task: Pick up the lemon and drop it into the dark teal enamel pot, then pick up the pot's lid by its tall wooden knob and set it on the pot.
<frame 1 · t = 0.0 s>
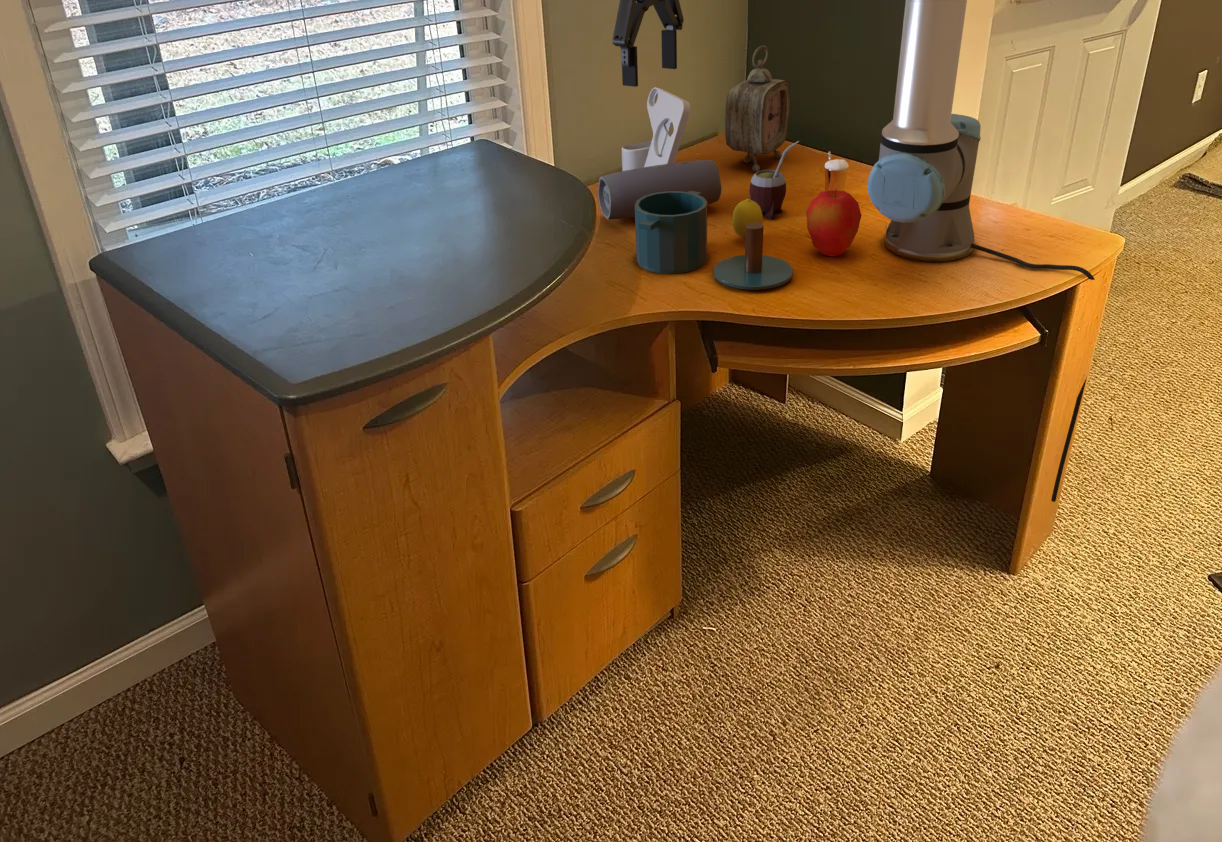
hand: (650, 76, 175), 28 cm above the table, tool pointing down, fingers open, 13 cm apart
tabletop clock: (755, 164, 219), on the table
lid: (753, 273, 168), point 1 cm above the table
pot: (671, 259, 176), on the table
bluetooth speaker: (659, 216, 195), on the table
mate gourd: (769, 215, 193), on the table
milkshake: (832, 205, 196), on the table
phone holder: (655, 182, 212), on the table
apple: (830, 254, 175), on the table
lemon: (746, 241, 182), on the table
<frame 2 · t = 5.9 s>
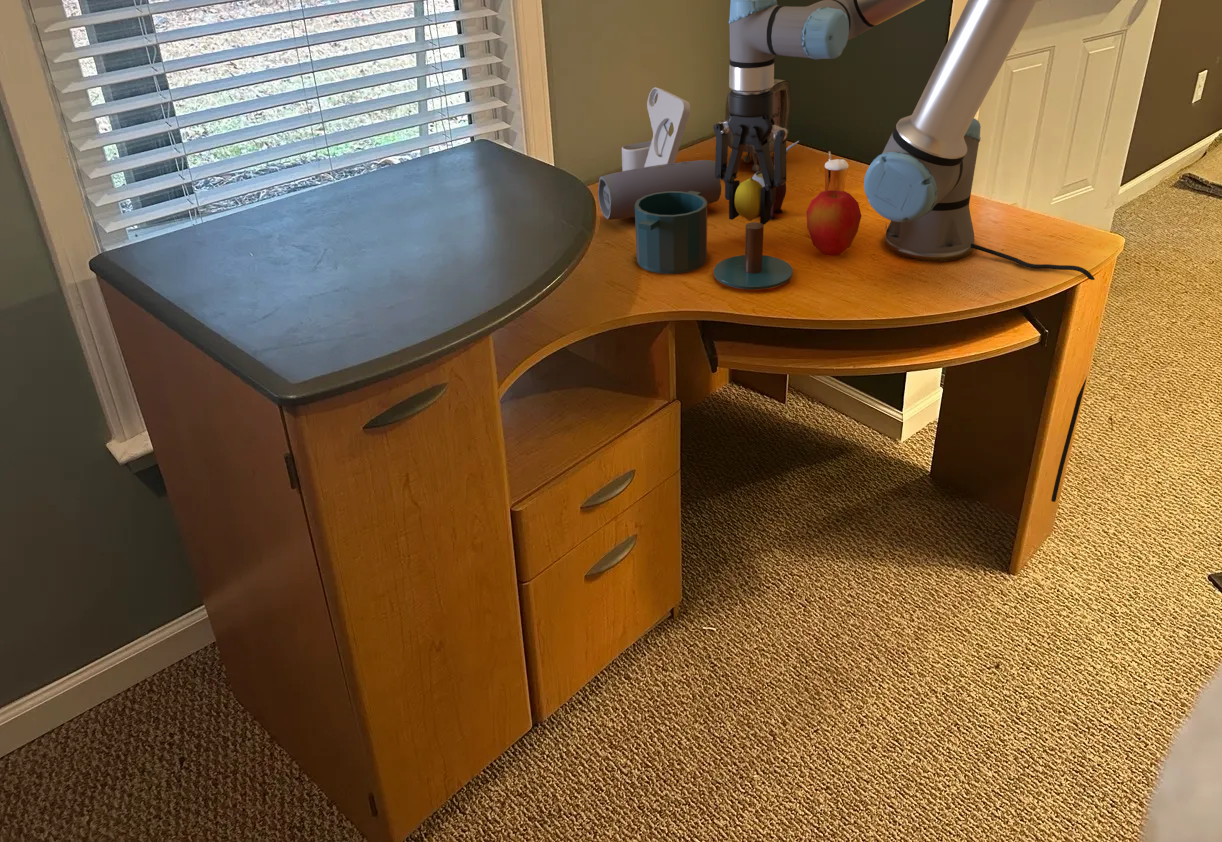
hand: (749, 219, 180), 4 cm above the table, tool pointing down, fingers closed on lemon, 5 cm apart
lemon: (749, 221, 180), point 4 cm above the table, touching gripper
everything else where it was.
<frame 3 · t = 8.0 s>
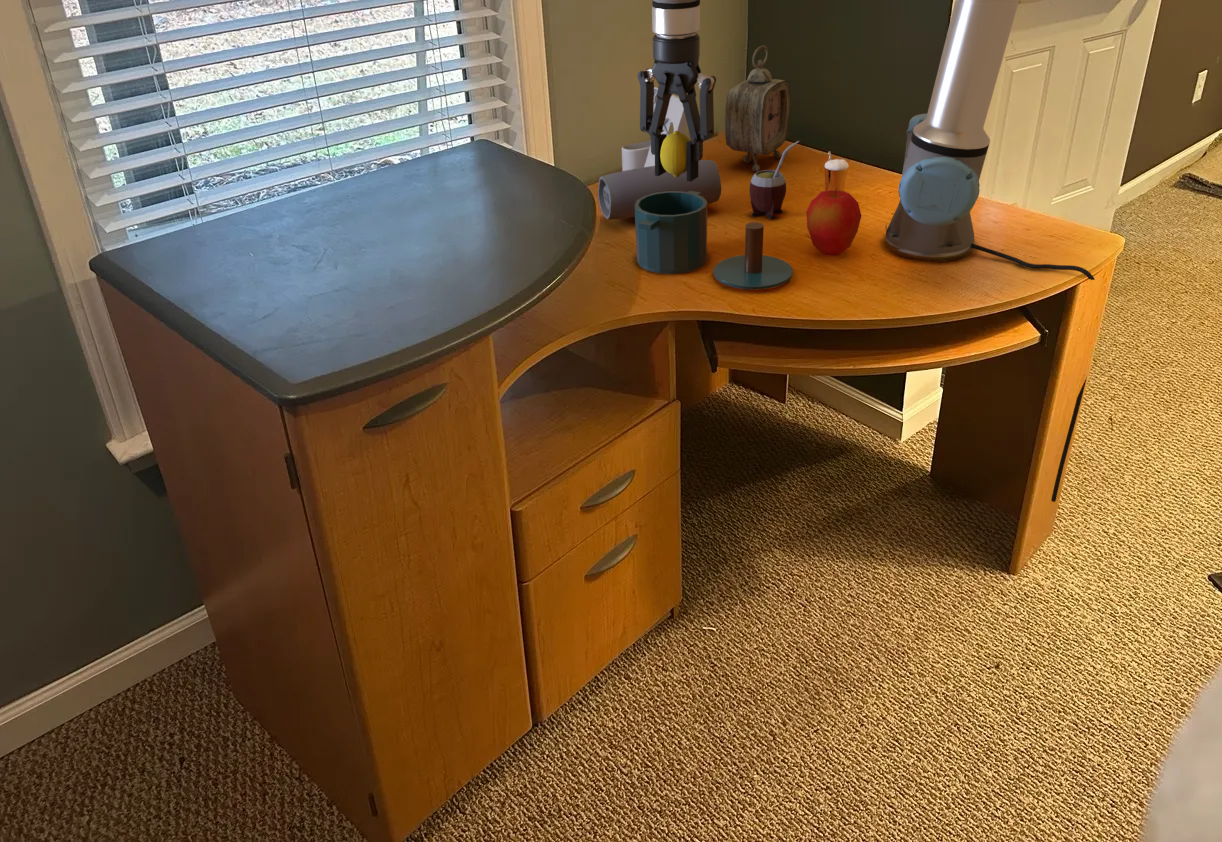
hand: (676, 175, 169), 15 cm above the table, tool pointing down, fingers closed on lemon, 5 cm apart
lemon: (676, 178, 169), point 15 cm above the table, touching gripper
everything else where it was.
when the fingers open (9 cm above the table, at t = 11.3 s): lemon stays where it is, resting on pot.
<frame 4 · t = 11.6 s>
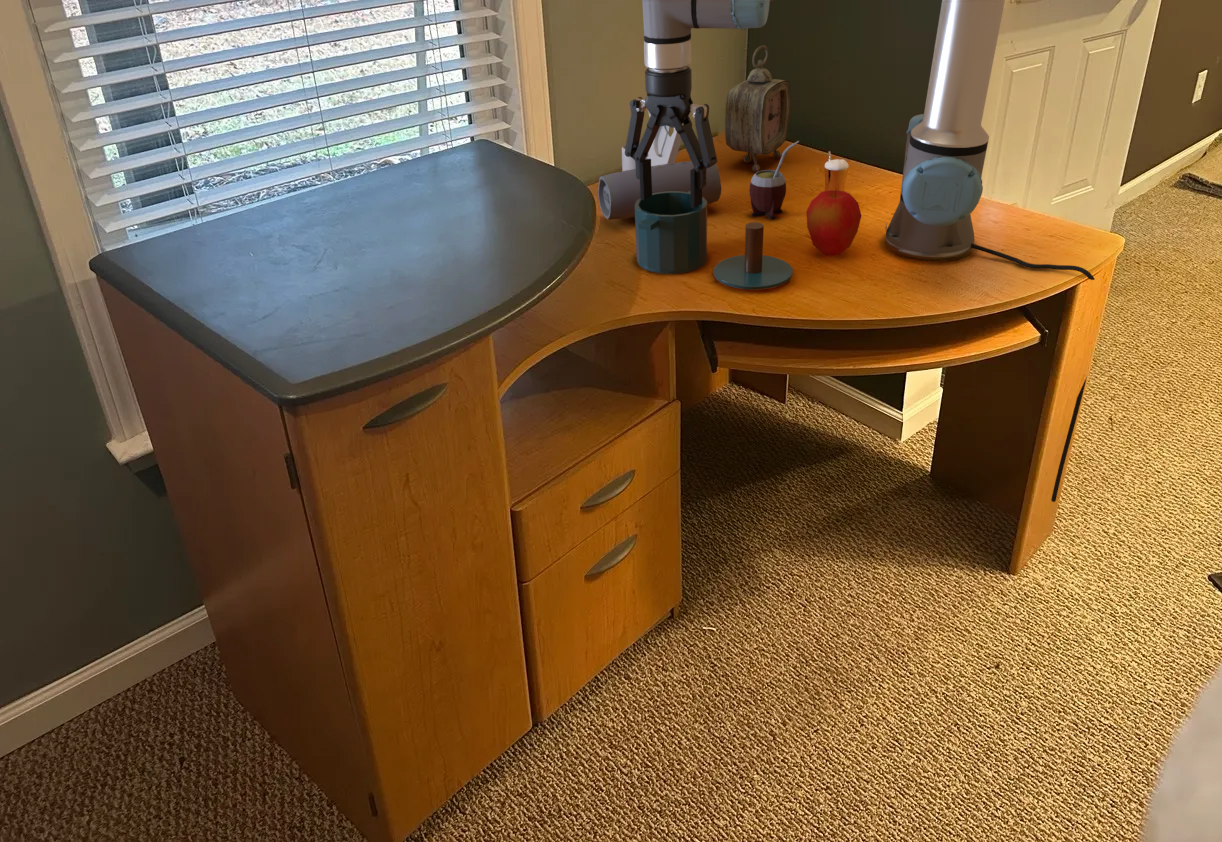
hand: (671, 201, 170), 11 cm above the table, tool pointing down, fingers open, 9 cm apart
lemon: (671, 254, 175), point 1 cm above the table, touching pot
everything else where it was.
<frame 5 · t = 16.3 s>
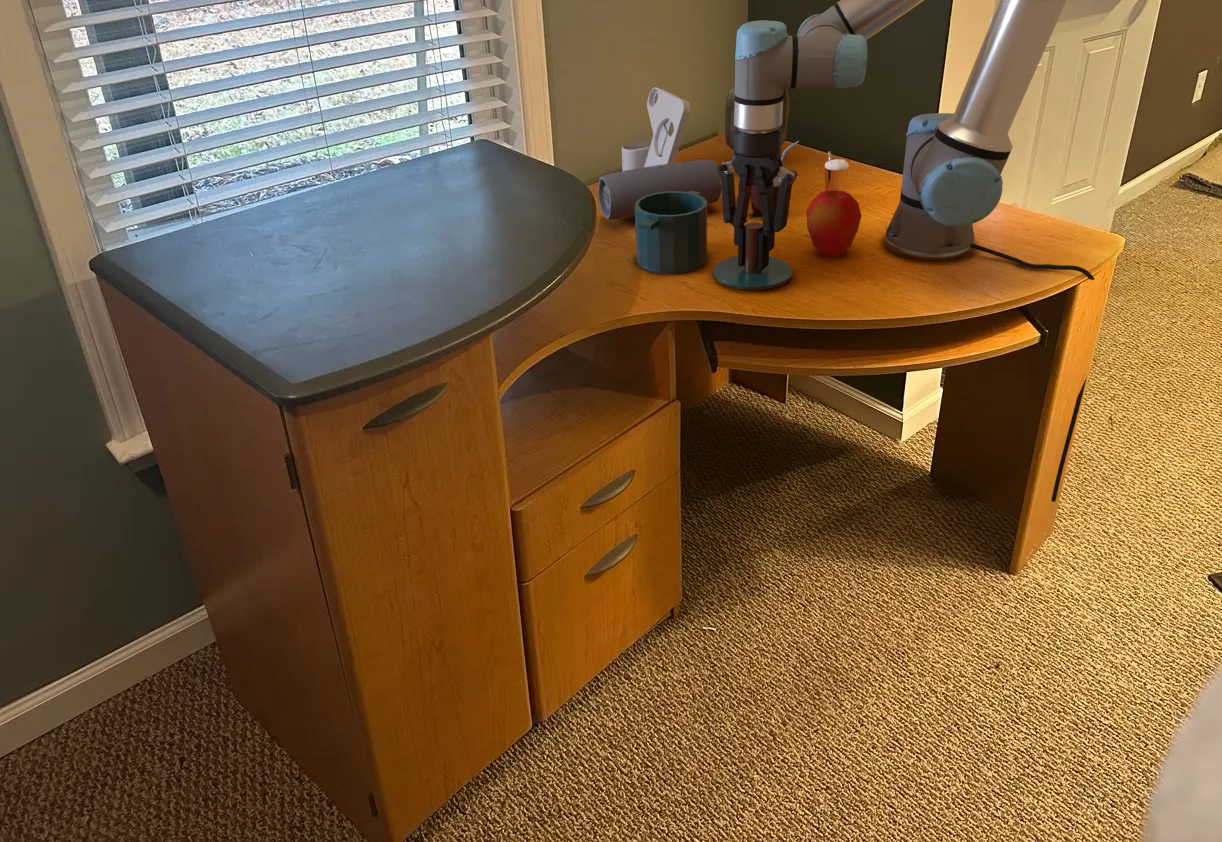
hand: (753, 265, 167), 2 cm above the table, tool pointing down, fingers closed on lid, 3 cm apart
lid: (753, 273, 168), point 1 cm above the table, touching gripper
everything else where it was.
when the fingers open (12 cm above the table, at t = 21.9 s): lid stays where it is, resting on pot.
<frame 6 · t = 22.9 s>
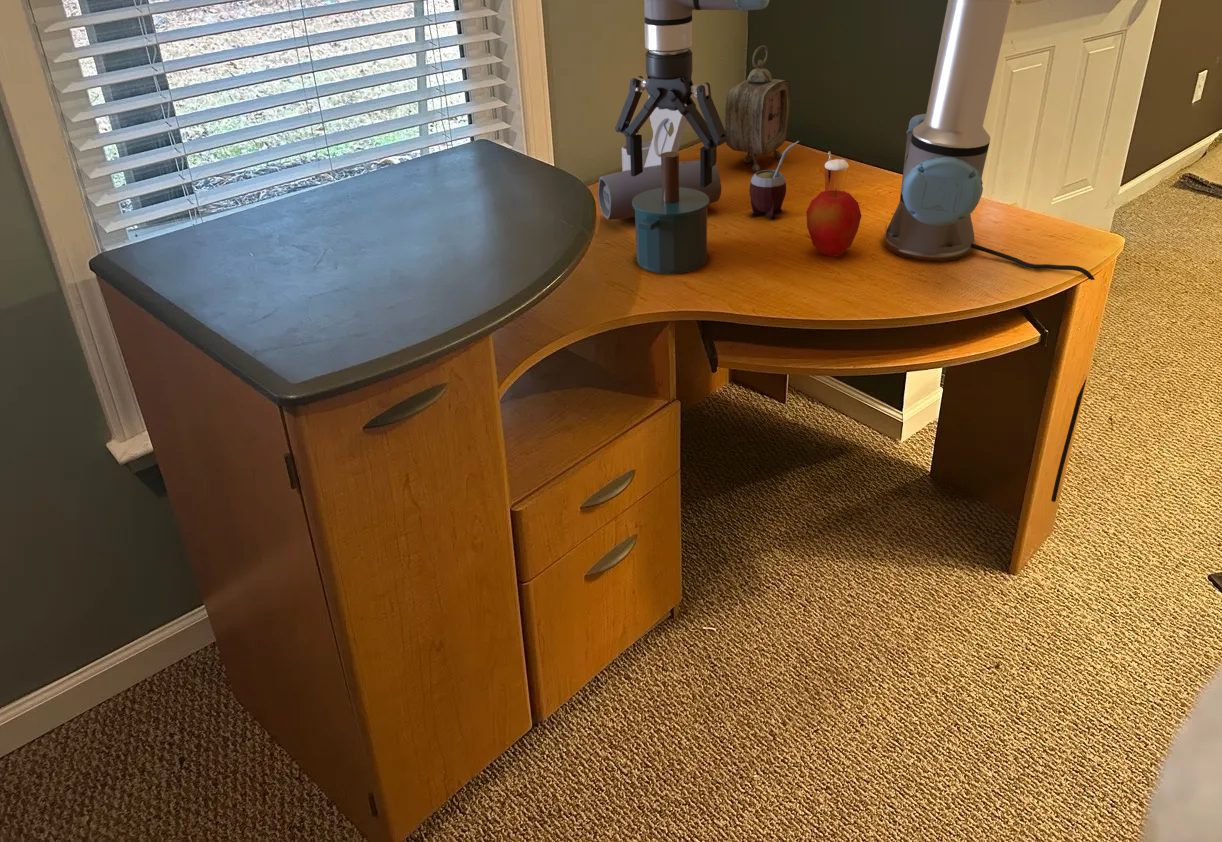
hand: (670, 179, 168), 15 cm above the table, tool pointing down, fingers open, 13 cm apart
lid: (670, 203, 170), point 10 cm above the table, touching pot
everything else where it was.
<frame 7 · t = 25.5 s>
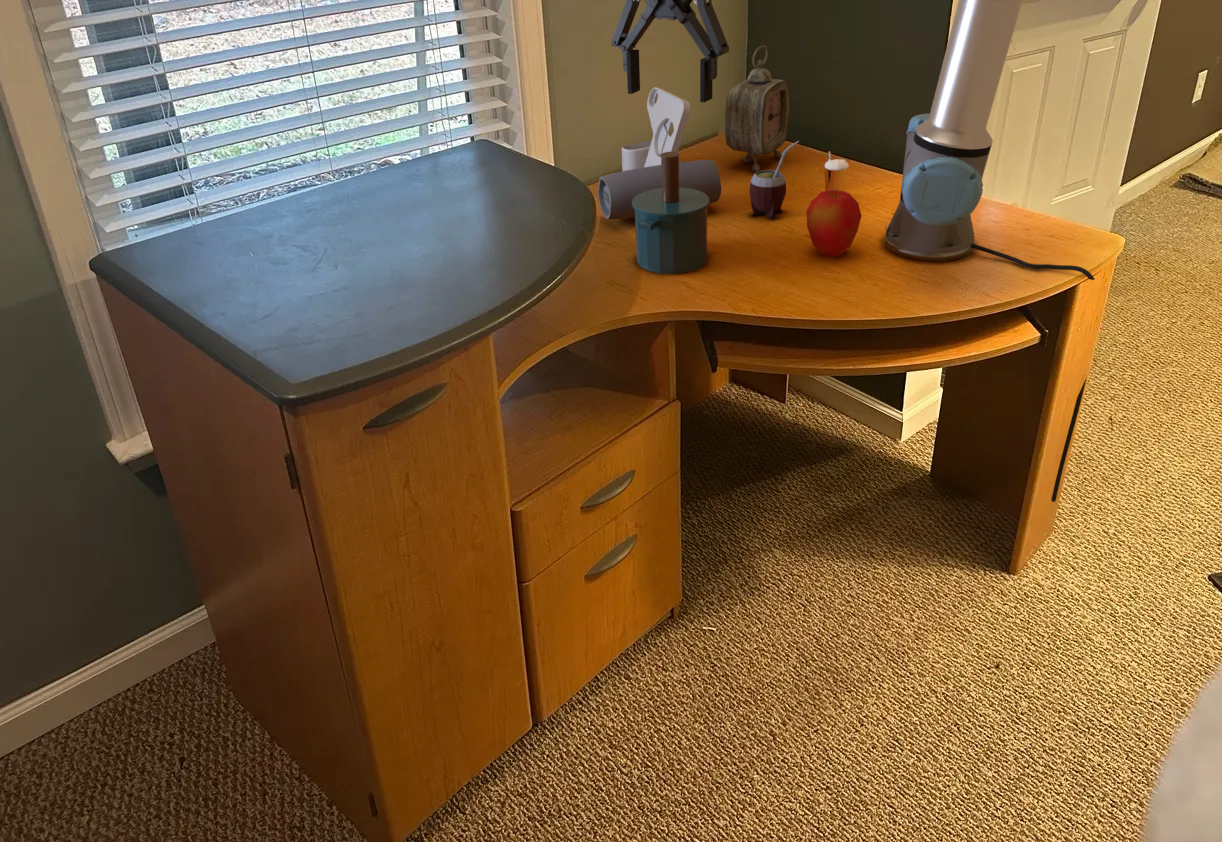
hand: (669, 96, 161), 29 cm above the table, tool pointing down, fingers open, 13 cm apart
nothing on the table moved.
at the end: lemon inside the target area in the pot (0.0 cm from its centre), point 1.1 cm above the pot's base; lid 0.0 cm off-centre on the pot, point 10.5 cm above the pot's base; lid tilted 0° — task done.
